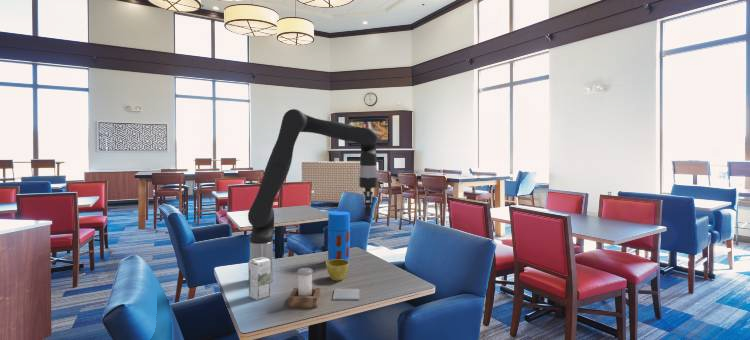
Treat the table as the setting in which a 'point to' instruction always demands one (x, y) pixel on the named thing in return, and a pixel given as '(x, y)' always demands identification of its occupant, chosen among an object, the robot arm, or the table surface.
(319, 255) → the table surface
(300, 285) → the white lidded jar
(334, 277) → the flower pot
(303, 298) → the wooden tray
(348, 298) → the coaster
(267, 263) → the syrup box
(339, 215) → the thermos
